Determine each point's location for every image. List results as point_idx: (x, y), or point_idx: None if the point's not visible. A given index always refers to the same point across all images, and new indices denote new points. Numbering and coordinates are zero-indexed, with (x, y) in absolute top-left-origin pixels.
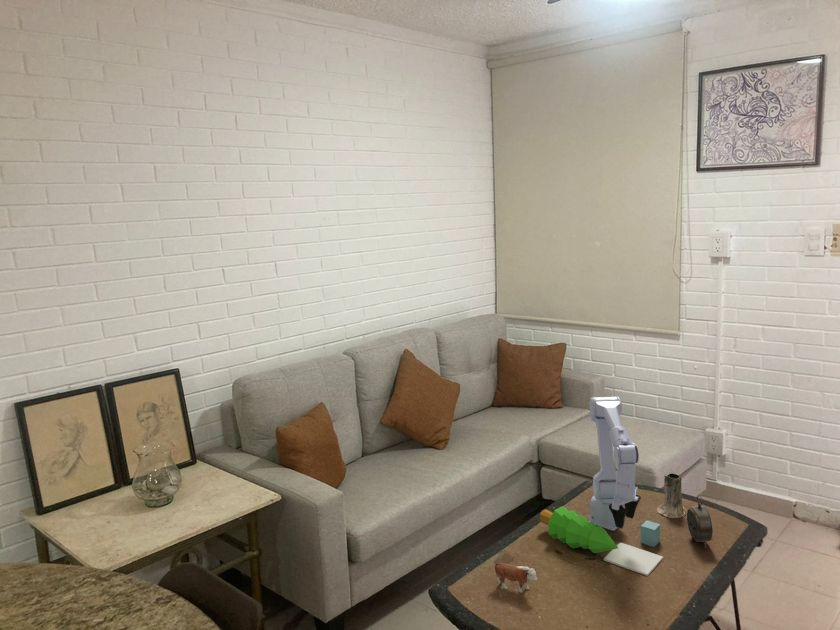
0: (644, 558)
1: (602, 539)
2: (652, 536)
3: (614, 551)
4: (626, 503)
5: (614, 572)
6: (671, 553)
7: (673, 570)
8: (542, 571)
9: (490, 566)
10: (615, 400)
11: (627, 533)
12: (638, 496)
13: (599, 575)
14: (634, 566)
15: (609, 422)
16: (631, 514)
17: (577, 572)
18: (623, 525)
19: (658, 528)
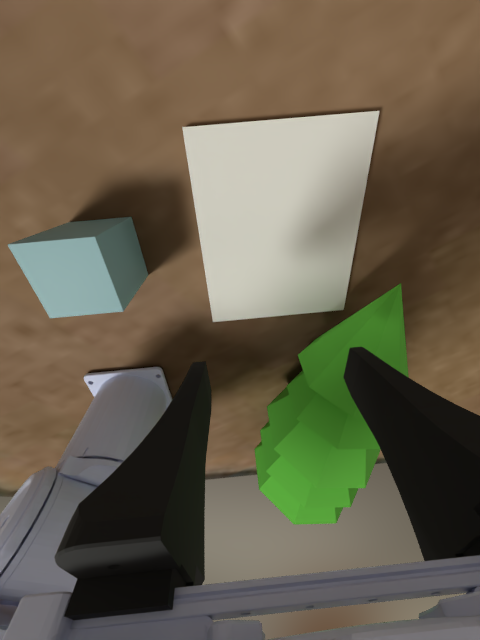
0: (257, 197)
1: (403, 359)
2: (116, 238)
3: (281, 307)
4: (201, 485)
5: (399, 243)
6: (107, 115)
7: (250, 2)
8: (462, 379)
9: None
10: None
11: (134, 334)
12: (87, 562)
13: (437, 271)
14: (341, 199)
15: None
16: (204, 387)
17: (440, 324)
18: (357, 354)
19: (44, 238)
